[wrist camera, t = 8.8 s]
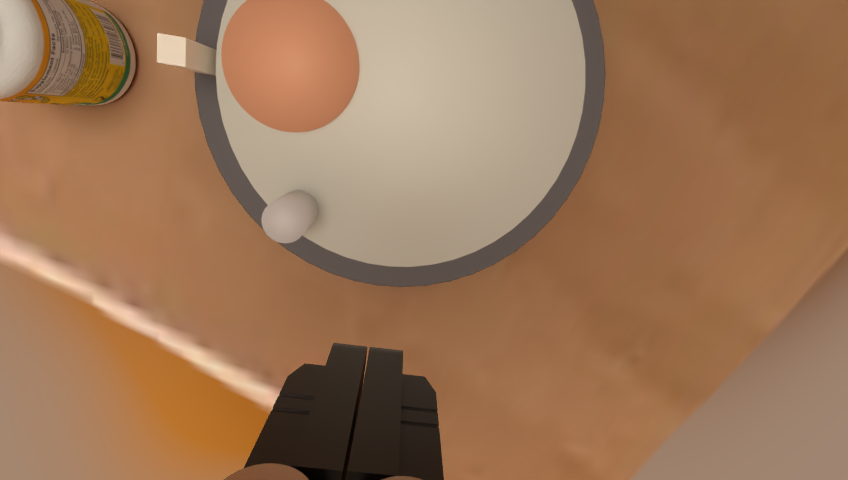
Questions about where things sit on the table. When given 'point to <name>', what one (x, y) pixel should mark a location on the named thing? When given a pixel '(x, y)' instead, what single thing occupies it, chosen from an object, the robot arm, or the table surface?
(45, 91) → the supplement bottle
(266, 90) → the shallow cream dish
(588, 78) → the turntable base
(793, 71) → the table surface
